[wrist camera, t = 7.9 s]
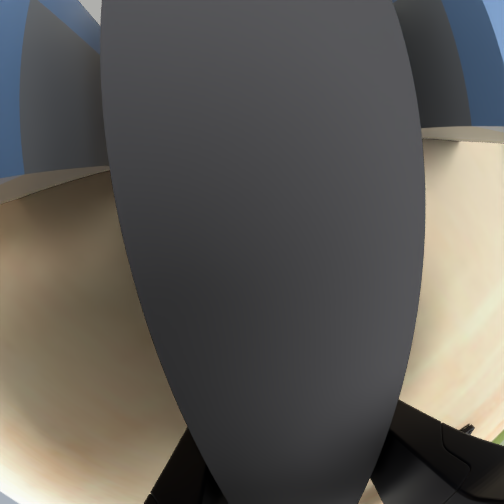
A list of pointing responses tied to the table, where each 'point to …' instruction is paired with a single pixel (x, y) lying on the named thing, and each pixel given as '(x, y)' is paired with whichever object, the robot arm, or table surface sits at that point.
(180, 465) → the robot arm
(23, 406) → the table surface
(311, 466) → the dark grey long bar
